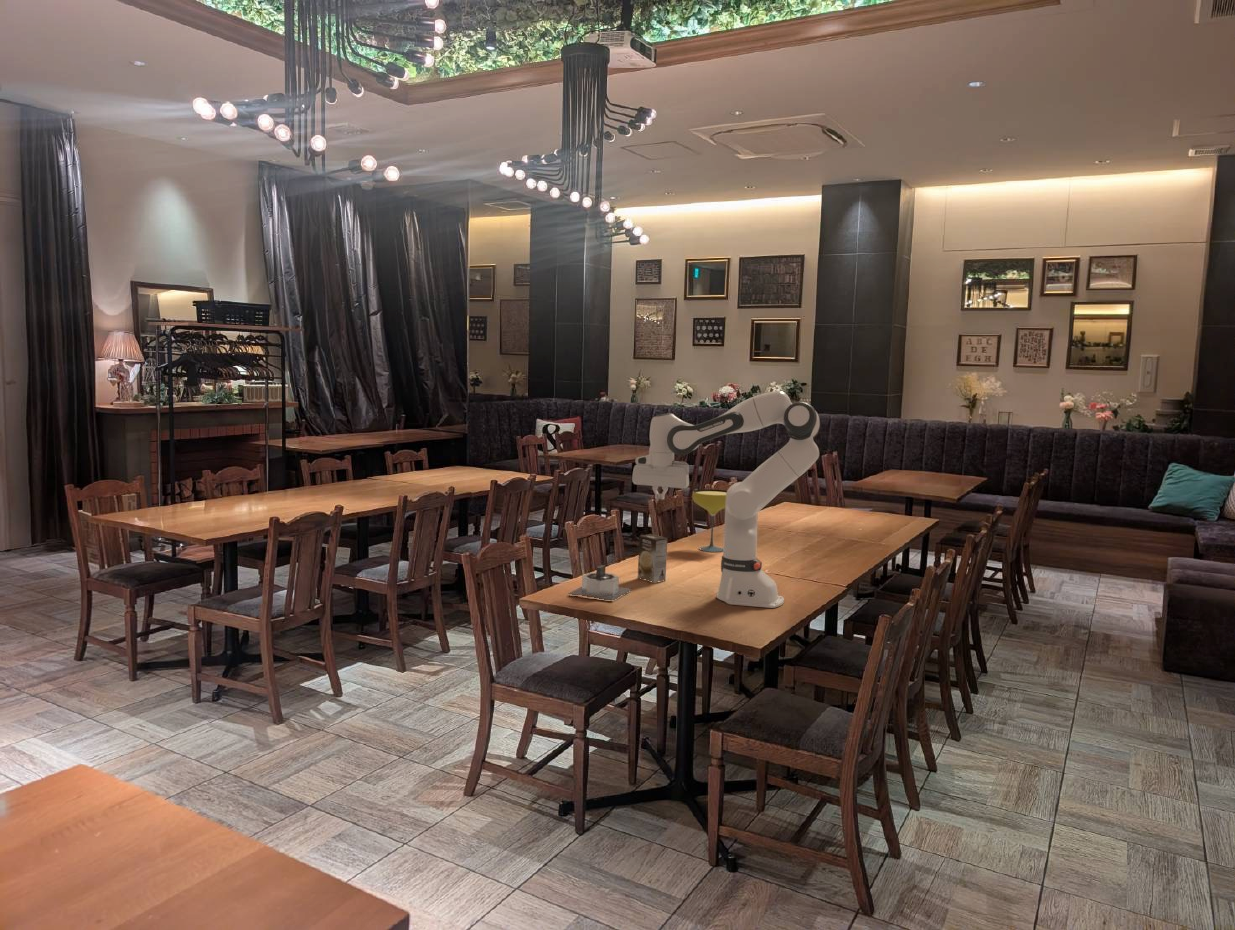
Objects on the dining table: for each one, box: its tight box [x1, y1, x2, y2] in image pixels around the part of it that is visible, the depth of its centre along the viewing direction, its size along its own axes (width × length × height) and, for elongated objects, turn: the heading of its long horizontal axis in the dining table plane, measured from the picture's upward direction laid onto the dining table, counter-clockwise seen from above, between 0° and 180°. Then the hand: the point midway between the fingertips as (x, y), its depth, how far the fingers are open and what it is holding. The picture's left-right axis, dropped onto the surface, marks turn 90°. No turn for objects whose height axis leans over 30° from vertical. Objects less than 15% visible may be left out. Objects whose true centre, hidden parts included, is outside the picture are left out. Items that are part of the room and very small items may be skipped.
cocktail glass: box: [691, 488, 728, 553], centre depth 375 cm, size 18×18×25 cm
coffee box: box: [637, 533, 668, 583], centre depth 318 cm, size 9×6×16 cm
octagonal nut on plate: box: [568, 572, 632, 600], centre depth 296 cm, size 16×16×6 cm
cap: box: [592, 564, 610, 580], centre depth 296 cm, size 6×6×5 cm
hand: (659, 499), depth 306 cm, fingers closed
